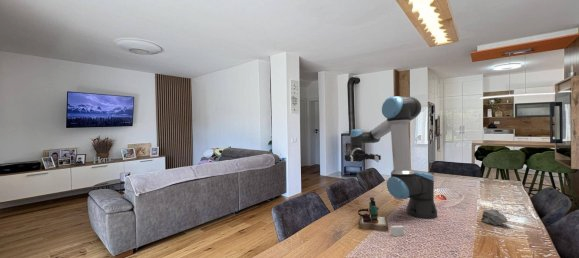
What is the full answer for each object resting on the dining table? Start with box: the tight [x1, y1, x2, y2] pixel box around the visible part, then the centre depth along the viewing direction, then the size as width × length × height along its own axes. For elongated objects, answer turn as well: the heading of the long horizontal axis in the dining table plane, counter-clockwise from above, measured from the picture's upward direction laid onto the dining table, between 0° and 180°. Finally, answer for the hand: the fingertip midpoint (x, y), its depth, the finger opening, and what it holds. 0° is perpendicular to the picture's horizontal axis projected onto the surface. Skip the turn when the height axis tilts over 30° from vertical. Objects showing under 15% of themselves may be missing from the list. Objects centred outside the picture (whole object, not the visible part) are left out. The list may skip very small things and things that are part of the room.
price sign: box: [390, 225, 405, 237], centre depth 113 cm, size 5×2×4 cm, turn 93°
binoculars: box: [357, 197, 380, 223], centre depth 124 cm, size 9×11×10 cm
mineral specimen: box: [480, 208, 509, 226], centre depth 124 cm, size 10×8×10 cm
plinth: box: [359, 215, 389, 232], centre depth 124 cm, size 13×12×3 cm
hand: (365, 159), depth 137 cm, fingers open, 13 cm apart
